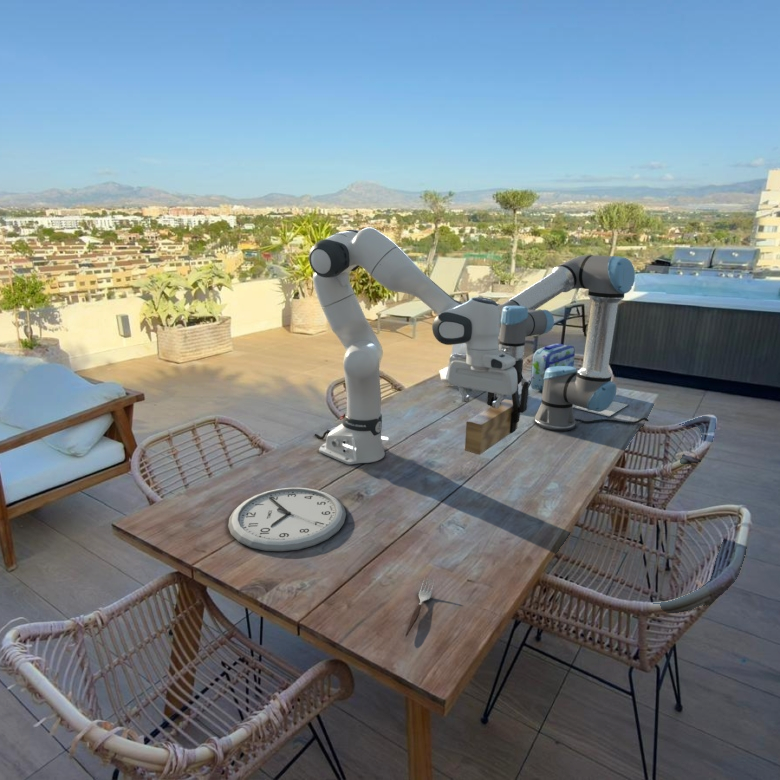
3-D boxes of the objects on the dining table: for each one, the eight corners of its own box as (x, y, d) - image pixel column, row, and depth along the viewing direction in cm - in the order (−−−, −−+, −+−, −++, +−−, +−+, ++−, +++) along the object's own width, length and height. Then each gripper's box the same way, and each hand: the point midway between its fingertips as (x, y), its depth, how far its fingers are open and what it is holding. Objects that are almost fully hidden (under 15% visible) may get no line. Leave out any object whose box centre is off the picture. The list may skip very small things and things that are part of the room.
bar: (503, 425, 170) (505, 398, 167) (517, 428, 167) (519, 401, 164) (464, 450, 150) (466, 420, 147) (479, 455, 147) (481, 424, 144)
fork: (398, 636, 97) (399, 628, 97) (423, 584, 111) (423, 576, 111) (412, 640, 96) (412, 631, 96) (435, 587, 111) (435, 579, 110)
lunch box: (547, 395, 239) (552, 351, 233) (526, 390, 247) (530, 347, 240) (574, 384, 257) (579, 343, 251) (554, 380, 264) (558, 339, 258)
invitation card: (608, 416, 214) (573, 407, 224) (608, 416, 214) (573, 408, 224) (628, 404, 229) (594, 396, 238) (628, 405, 229) (594, 397, 238)
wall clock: (346, 543, 123) (215, 547, 120) (346, 549, 123) (215, 553, 121) (345, 483, 151) (239, 485, 149) (345, 488, 152) (240, 490, 149)
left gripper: (444, 354, 148) (443, 401, 152) (511, 364, 136) (508, 414, 140) (455, 350, 152) (454, 395, 157) (521, 359, 141) (518, 408, 145)
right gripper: (478, 355, 160) (473, 426, 167) (534, 365, 150) (526, 440, 157) (489, 351, 166) (484, 420, 173) (543, 360, 156) (536, 432, 163)
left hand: (480, 404), depth 148 cm, fingers open, 8 cm apart
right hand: (504, 429), depth 165 cm, fingers closed on bar, 5 cm apart
